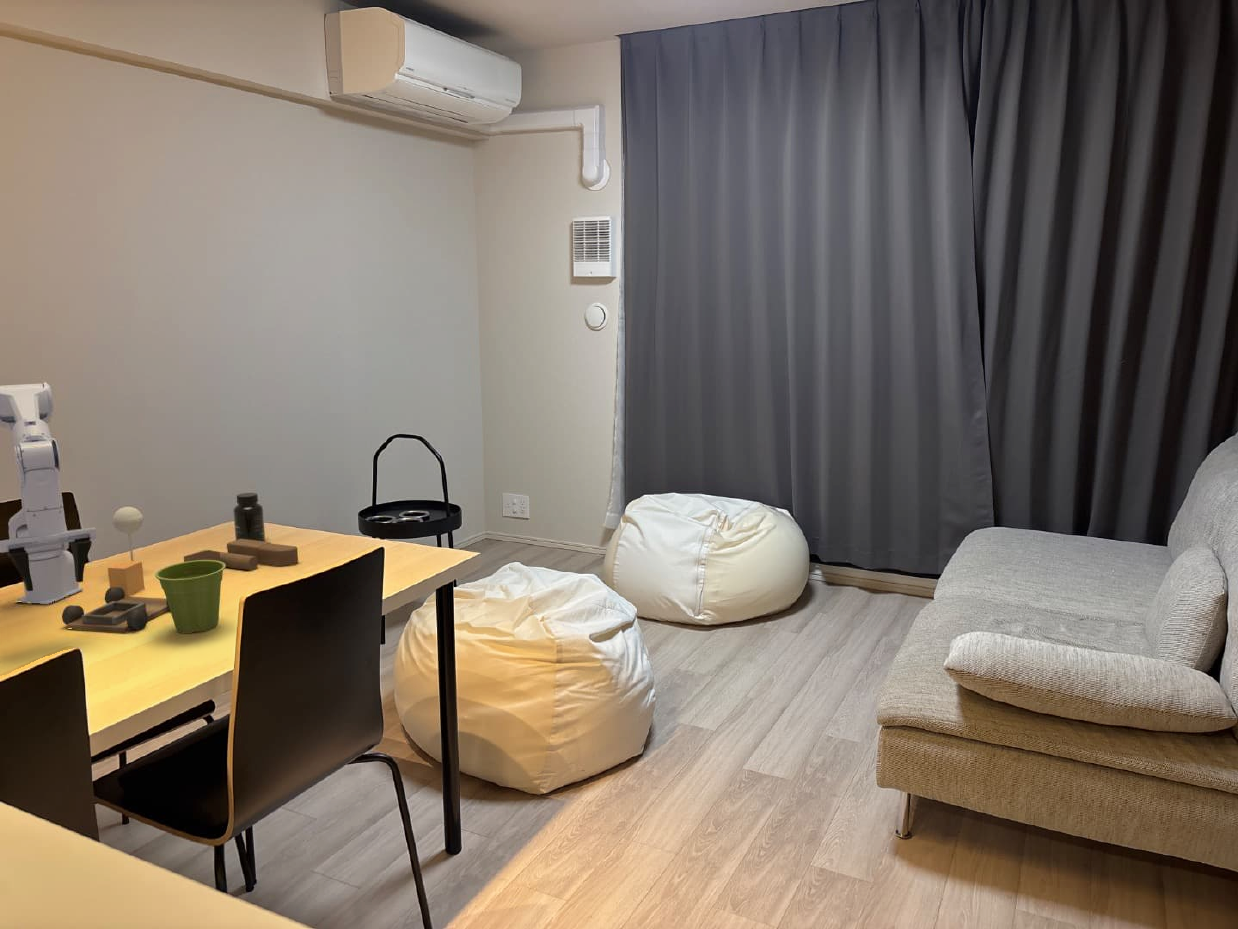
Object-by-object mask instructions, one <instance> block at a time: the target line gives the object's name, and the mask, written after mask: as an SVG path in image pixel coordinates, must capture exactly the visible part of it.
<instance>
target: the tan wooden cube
mask: <svg viewBox="0 0 1238 929" xmlns="http://www.w3.org/2000/svg"><path fill="white" fill-rule="evenodd" d="M107 572H108V573H107V574H108V582H109V588H110V587H120V588H122V589H123V590H124V592H125V596H126V597H127V596H130V595H131V596H133V595H135V594H137V593H139V592H142V591H144V590H145V589H146V588H145V580H144V571H143V561H139V560H138V561H136V560H135V561H131V560H124V561H121V562H118V563H115V564H114V565H111V566H109V567H107ZM143 589H144V590H143ZM141 590H142V591H141Z"/></svg>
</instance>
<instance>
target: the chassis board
mask: <svg viewBox="0 0 1238 929" xmlns="http://www.w3.org/2000/svg"><path fill="white" fill-rule="evenodd" d="M104 602H105V603H106V604H103V605H102V606H99V607H97V608H96V609H93V610H91V611H89V612H87V613H85V611H84V609H83V607H82V606H81V605H71V604H70V605H67V606H66V607H65V608H64V609H63V611H62V614H61V620H62V622H63V623H64V624H65V625H66V626H67V629H68V628H72V629H81V630H80V631H83V630H88V631H87V632H100V633H102V632H103V633H113V632H118V633H117V634H126V632H127V633H129V632H131V631H133V630H143V629H144V628H145V627H146V626H147V624H148V622H150V621H152V620H154V619H156V618H157V617H159V616H162V615H164V614H165V613H167V612H169V611H170V608H169V605H168V602H167V599H166V597H165V598H162V597H147V596H146V597H145V596H132V595H131V596H127V597H125V592H124V590H123V589H122V588H120V587H110V586H109V588H107V590H106V591H105V594H104Z"/></svg>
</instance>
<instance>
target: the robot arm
mask: <svg viewBox="0 0 1238 929" xmlns="http://www.w3.org/2000/svg"><path fill="white" fill-rule="evenodd" d="M53 411H54V404H53V394H52V389H51V386H50V384H48V383H47V382H46V381H44V382H42V383H41V382H40V383H26V384H25V383H24V384H10V385H5V384H4V385H0V428H5V429H8V432H9V433H10V435H11V437H12V441H13V456H14V463H15V468H16V472H17V477H18V485H19V494H20V500H21V509H20V510H19V511H17V513H15V514H13V516H11V517H10V518H9V521H8V522H7V524H8V537H9V538H8V539H4V540H0V553H1V554H3V553H6V555H7V557H8V558H9V559H10V560H11V562H12V564H13V565H14V567H15V568H16V569H17V571H18V573H19V574H20V576H21V579H22V582H23V590H24V595H23V596H22V597H20V598H16V599H14V602H15V601H21V602H30V603H29V604H32V603H40V604H39V605H50V604H49V603H51V604H53V603H55V602H58V601H60V600H63V599H65V598H67V597H70V596H71V595H74V594H76V593H79V592H81V591H83V590H84V588H83V587H80V585H79V583H82V582H84V572H85V566H86V562H87V558H88V554H89V552H90V549H91V548H92V544H93V543H92V540H95V539H98V538H97V531H96V528H95V527H87V528H86V527H85V528H80V529H79V528H78V529H70V530H68V528H67V524H66V517H65V516H66V515H65V510H64V502H63V496H62V495H63V494H62V487H61V480H60V473H59V472H61V466H62V465H61V454H60V450H59V445H58V442H57V440H56V439H55V438H54V437H52V434H51V430H50V426H49V425H48V423H50V422H51V418H52V416H53ZM56 469H57V470H58V472H57V471H56ZM69 543H70V544H69ZM69 547H70V549H71V552H70V551H69V550H68V549H69ZM69 595H70V596H69ZM64 597H65V598H64ZM54 601H55V602H54ZM52 602H53V603H52Z"/></svg>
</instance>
